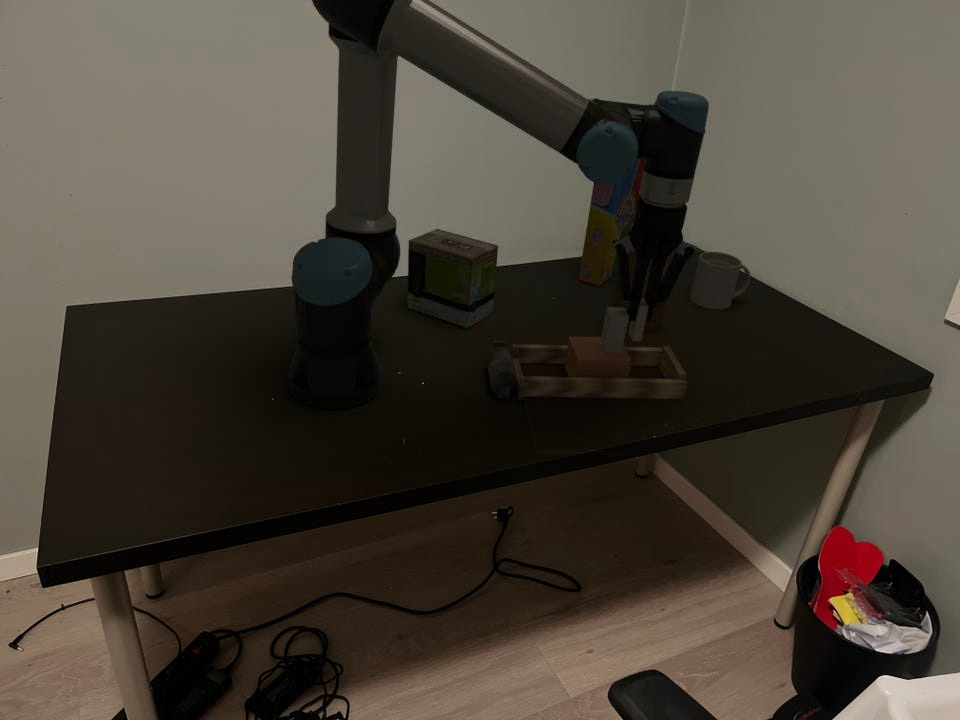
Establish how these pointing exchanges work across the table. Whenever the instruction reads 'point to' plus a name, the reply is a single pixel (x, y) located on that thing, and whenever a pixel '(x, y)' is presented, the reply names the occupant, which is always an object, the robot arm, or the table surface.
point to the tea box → (452, 277)
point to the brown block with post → (601, 350)
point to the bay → (510, 377)
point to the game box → (609, 224)
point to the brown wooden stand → (658, 310)
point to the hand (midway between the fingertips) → (634, 337)
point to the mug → (717, 280)
